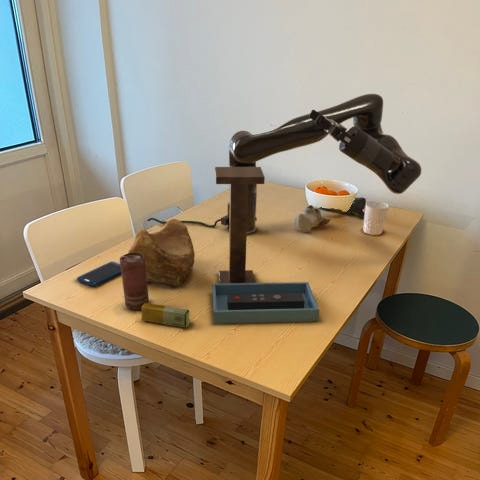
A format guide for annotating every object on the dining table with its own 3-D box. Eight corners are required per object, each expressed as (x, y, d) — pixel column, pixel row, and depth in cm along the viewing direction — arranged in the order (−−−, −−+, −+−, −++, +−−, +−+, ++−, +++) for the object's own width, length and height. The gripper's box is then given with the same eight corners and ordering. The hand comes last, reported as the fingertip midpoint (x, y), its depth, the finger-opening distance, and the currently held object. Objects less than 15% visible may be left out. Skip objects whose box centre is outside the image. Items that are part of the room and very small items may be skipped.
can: (126, 299, 130) (120, 252, 122) (149, 298, 130) (145, 251, 123) (123, 311, 125) (117, 262, 117) (148, 310, 125) (143, 262, 117)
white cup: (384, 229, 176) (389, 202, 170) (382, 237, 170) (387, 209, 164) (362, 226, 178) (367, 199, 172) (360, 233, 172) (364, 206, 166)
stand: (216, 291, 134) (216, 177, 117) (215, 275, 143) (214, 166, 125) (259, 290, 135) (264, 177, 118) (255, 274, 144) (260, 166, 126)
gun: (364, 219, 182) (360, 193, 179) (318, 224, 195) (313, 200, 191) (368, 215, 186) (364, 190, 182) (323, 221, 198) (318, 197, 194)
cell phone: (76, 280, 138) (75, 277, 137) (112, 263, 148) (112, 260, 147) (93, 287, 134) (93, 285, 134) (129, 269, 144) (129, 267, 144)
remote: (228, 311, 125) (228, 301, 123) (227, 302, 128) (227, 293, 127) (303, 309, 126) (304, 300, 125) (300, 301, 130) (301, 292, 128)
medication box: (190, 323, 121) (190, 309, 119) (186, 328, 118) (187, 314, 116) (145, 316, 122) (144, 301, 121) (140, 320, 120) (140, 306, 118)
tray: (214, 323, 121) (213, 312, 119) (212, 294, 133) (212, 283, 131) (318, 321, 123) (319, 309, 121) (306, 292, 135) (308, 281, 133)
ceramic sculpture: (288, 205, 169) (309, 197, 179) (285, 229, 173) (306, 220, 184) (314, 213, 163) (335, 204, 174) (311, 237, 168) (331, 227, 178)
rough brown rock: (165, 304, 129) (167, 254, 121) (119, 283, 136) (117, 234, 127) (213, 273, 147) (217, 228, 139) (169, 256, 153) (171, 211, 145)
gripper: (360, 129, 139) (316, 98, 134) (376, 140, 127) (328, 107, 122) (345, 152, 142) (301, 123, 137) (358, 165, 130) (311, 133, 125)
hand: (313, 115), depth 129 cm, fingers open, 8 cm apart
